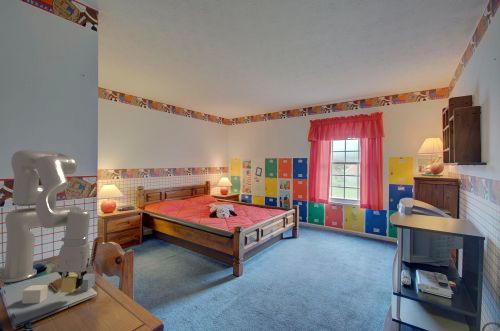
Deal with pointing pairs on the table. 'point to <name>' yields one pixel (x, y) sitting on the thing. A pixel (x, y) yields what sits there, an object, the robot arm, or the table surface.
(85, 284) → the slate brick
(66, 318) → the table surface
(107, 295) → the table surface
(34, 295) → the cream brick
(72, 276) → the mustard brick
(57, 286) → the shard
